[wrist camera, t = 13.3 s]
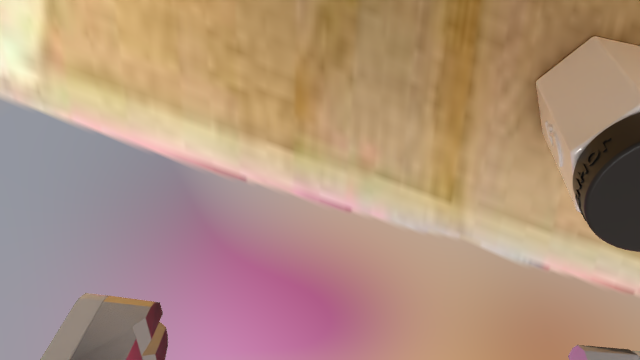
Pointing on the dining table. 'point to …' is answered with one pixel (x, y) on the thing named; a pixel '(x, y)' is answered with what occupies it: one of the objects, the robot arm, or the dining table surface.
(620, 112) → the jar
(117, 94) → the dining table surface
